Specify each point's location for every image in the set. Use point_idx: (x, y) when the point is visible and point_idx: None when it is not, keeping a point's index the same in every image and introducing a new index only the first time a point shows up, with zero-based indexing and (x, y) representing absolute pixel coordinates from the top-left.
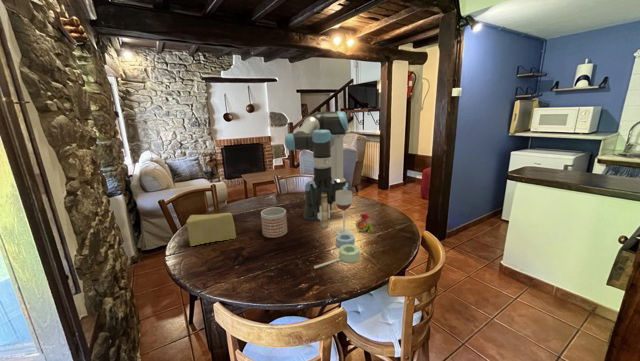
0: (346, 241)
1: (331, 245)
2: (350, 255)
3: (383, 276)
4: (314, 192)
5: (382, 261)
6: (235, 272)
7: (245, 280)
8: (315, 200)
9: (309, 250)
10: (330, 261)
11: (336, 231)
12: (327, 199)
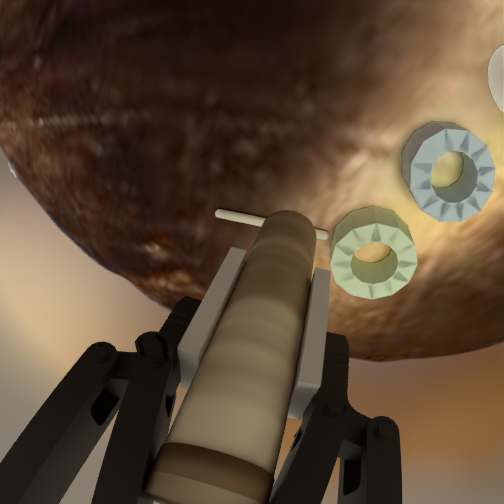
0: (424, 211)
1: (392, 121)
2: (345, 287)
3: (352, 356)
4: (57, 496)
5: (417, 324)
6: (32, 90)
7: (45, 140)
8: (105, 425)
9: (276, 84)
10: None
11: (501, 46)
12: (308, 435)
